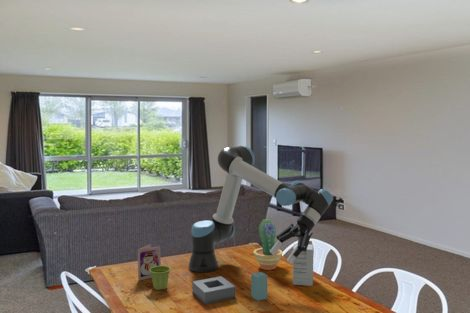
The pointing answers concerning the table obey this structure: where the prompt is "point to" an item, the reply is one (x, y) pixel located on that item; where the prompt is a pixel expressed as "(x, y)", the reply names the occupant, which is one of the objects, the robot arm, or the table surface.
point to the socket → (213, 290)
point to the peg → (259, 286)
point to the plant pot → (160, 276)
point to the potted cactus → (267, 246)
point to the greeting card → (148, 260)
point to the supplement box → (303, 267)
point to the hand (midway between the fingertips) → (280, 257)
